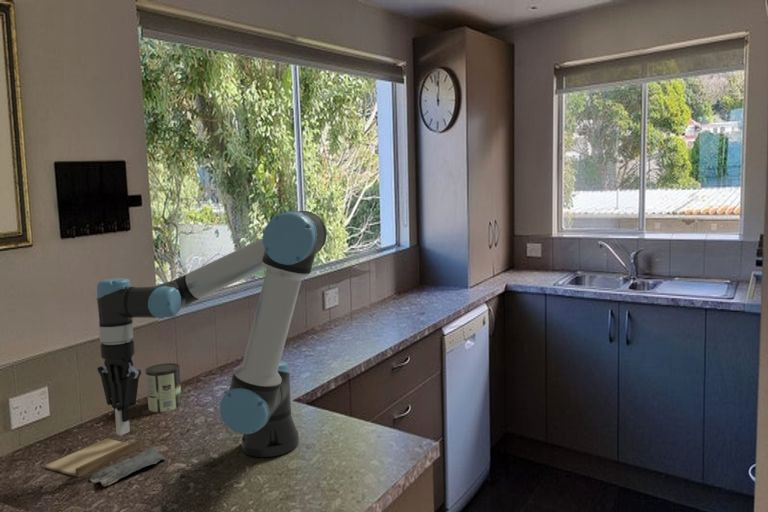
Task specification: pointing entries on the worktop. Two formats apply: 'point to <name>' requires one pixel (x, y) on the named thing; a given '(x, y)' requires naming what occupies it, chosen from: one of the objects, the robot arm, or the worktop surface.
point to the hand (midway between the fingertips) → (123, 433)
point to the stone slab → (126, 467)
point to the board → (92, 457)
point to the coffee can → (163, 387)
